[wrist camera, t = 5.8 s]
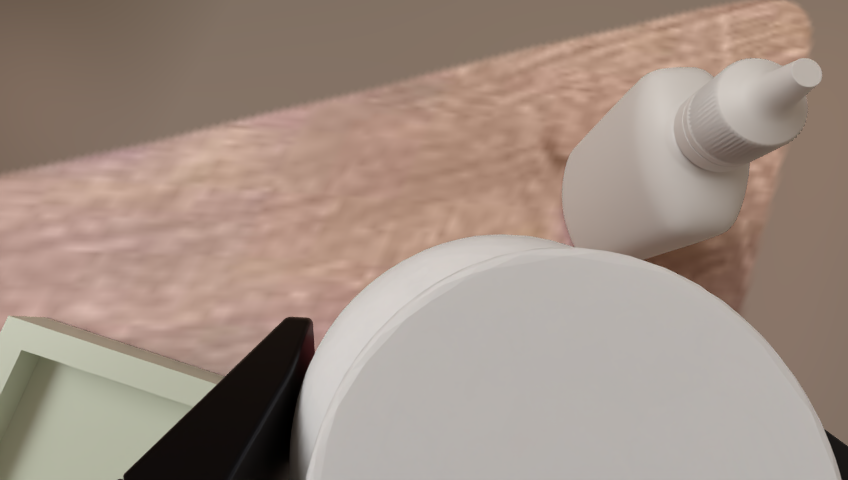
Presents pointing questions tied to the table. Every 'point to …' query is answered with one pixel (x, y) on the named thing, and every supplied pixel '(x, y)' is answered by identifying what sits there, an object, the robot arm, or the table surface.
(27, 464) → the tray
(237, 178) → the table surface
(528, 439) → the pill bottle
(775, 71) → the eye dropper bottle
